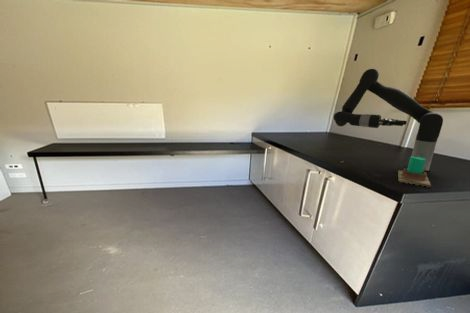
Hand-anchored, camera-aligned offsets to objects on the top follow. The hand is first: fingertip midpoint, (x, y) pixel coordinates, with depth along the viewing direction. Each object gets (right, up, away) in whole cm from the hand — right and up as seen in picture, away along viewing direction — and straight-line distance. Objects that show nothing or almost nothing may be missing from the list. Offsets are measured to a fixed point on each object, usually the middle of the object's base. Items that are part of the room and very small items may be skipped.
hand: (404, 123), depth 108 cm
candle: (+3, -29, -2) cm, 29 cm away
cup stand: (+3, -30, -2) cm, 30 cm away
